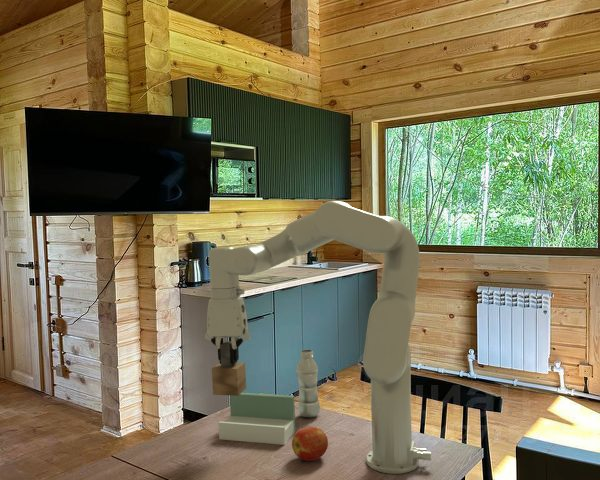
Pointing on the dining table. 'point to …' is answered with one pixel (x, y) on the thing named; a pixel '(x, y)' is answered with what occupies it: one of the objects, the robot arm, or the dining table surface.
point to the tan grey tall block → (228, 374)
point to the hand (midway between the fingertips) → (228, 362)
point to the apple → (309, 443)
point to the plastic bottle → (307, 385)
